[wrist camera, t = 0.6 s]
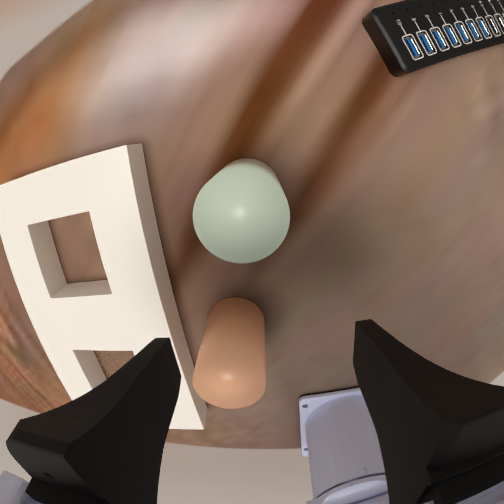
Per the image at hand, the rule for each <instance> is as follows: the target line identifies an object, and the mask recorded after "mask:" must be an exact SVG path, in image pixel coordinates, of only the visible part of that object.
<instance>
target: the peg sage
mask: <svg viewBox="0 0 504 504" xmlns="http://www.w3.org/2000/svg"><path fill="white" fill-rule="evenodd" d="M193 224H194V228H195V231H196V234H197V236H198V238H199V240H200V241H201V243H202V244H203V245H204V247H205V248H206V249H207V250H208V251H210V252H211V253H212V254H213V255H215V256H217V257H218V258H220V259H223V260H225V261H228V262H233V263H251V262H255V261H259V260H261V259H263V258H265V257H267V256H269V255H270V254H272V253H273V252H274V251H275V250H276V249H277V248H278V247H279V246H280V245H281V243H282V242H283V240H284V239H285V237H286V234H287V232H288V228H289V224H290V210H289V205H288V202H287V199H286V197H285V194H284V192H283V189H282V187H281V185H280V182H279V180H278V178H277V176H276V174H275V172H274V171H273V170H272V169H271V168H270V167H269V166H268V165H267V164H265V163H264V162H262V161H259V160H256V159H252V158H242V159H238V160H235V161H233V162H231V163H229V164H227V165H226V166H225V167H224V168H223V169H222V170H220V171H219V172H218V173H217V174H216V175H215V176H214V177H213V178H212V179H210V180H209V181H208V182H207V183H206V184H205V185H204V186H203V188H202V189H201V190H200V192H199V194H198V195H197V198H196V200H195V203H194V208H193Z"/></svg>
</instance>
